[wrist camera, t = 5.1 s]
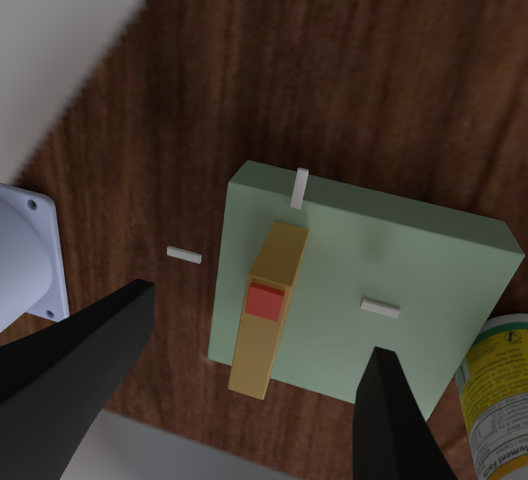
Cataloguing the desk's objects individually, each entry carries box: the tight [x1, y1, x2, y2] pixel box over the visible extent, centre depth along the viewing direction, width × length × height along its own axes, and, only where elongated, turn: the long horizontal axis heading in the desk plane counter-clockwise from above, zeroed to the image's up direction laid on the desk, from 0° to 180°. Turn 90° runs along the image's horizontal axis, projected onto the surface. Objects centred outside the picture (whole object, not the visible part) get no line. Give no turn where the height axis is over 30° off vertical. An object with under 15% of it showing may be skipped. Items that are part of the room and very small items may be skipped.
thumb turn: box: [228, 221, 309, 400], centre depth 14 cm, size 5×1×4 cm, turn 170°
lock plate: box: [167, 160, 525, 421], centre depth 17 cm, size 12×10×3 cm
